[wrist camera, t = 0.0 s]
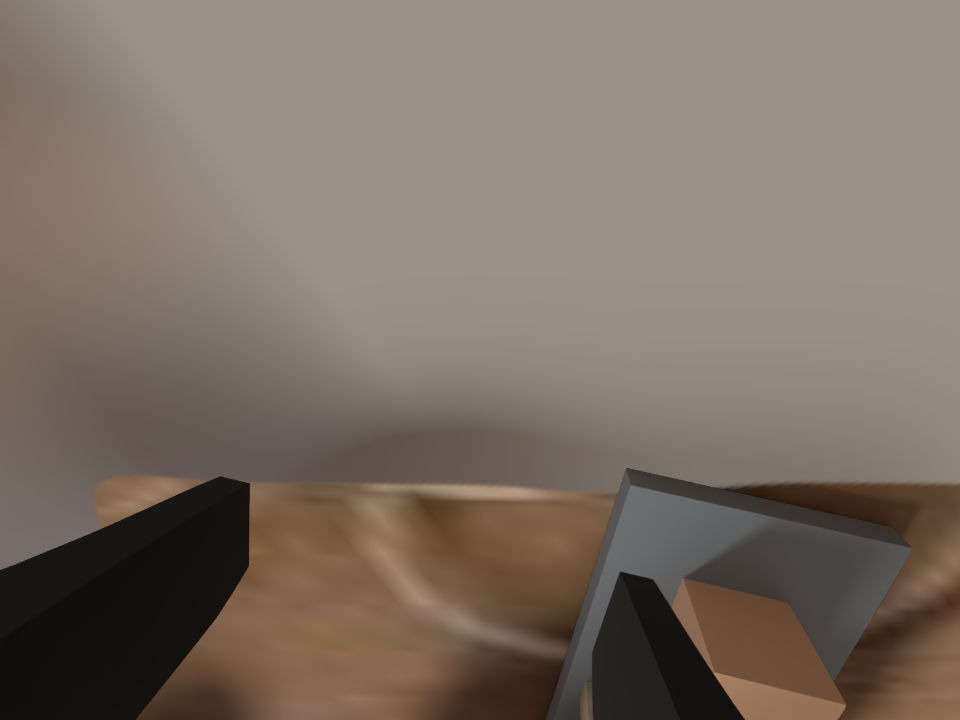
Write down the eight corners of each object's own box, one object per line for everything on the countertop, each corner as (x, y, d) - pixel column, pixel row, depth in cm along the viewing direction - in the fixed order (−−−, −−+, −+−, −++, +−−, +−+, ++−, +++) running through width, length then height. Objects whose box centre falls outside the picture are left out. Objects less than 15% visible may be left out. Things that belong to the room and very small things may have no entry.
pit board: (708, 851, 26) (714, 881, 25) (520, 799, 26) (518, 826, 25) (891, 526, 19) (913, 548, 17) (625, 467, 19) (630, 485, 18)
